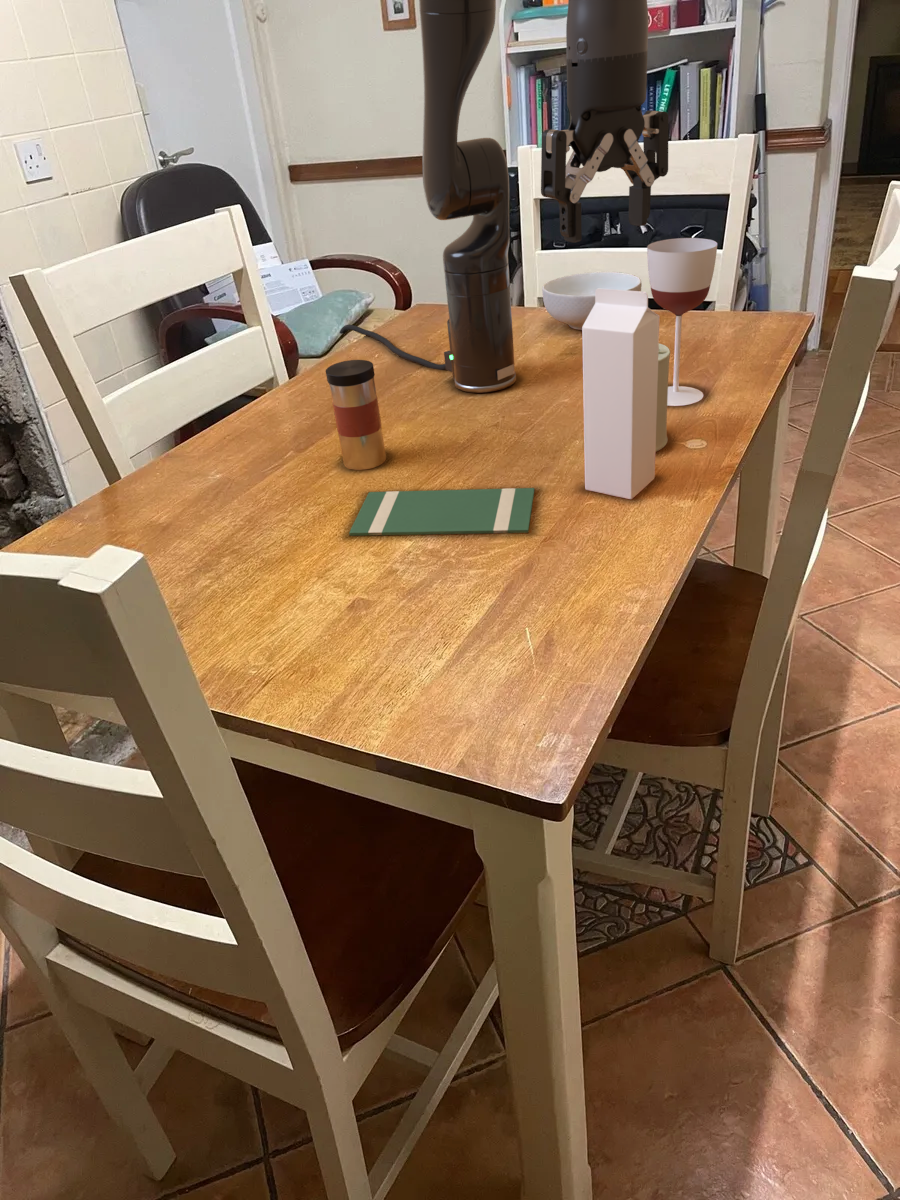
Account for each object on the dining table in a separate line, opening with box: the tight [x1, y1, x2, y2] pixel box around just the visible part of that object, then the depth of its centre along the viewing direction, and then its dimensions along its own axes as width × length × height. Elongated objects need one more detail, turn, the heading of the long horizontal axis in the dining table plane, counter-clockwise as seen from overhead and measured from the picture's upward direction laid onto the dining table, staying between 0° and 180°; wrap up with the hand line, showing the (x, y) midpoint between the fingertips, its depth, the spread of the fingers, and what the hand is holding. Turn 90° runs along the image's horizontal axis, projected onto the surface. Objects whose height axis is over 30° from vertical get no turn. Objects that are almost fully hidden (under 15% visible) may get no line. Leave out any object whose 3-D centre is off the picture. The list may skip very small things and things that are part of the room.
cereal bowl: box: [541, 271, 642, 331], centre depth 152 cm, size 17×17×7 cm
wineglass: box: [646, 237, 718, 407], centre depth 116 cm, size 8×9×20 cm
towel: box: [348, 487, 536, 537], centre depth 99 cm, size 10×20×1 cm, turn 81°
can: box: [655, 342, 671, 453], centre depth 107 cm, size 9×9×12 cm
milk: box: [581, 288, 661, 500], centre depth 95 cm, size 6×6×22 cm
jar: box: [325, 359, 387, 471], centre depth 111 cm, size 6×6×12 cm
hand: (605, 232), depth 91 cm, fingers open, 8 cm apart
